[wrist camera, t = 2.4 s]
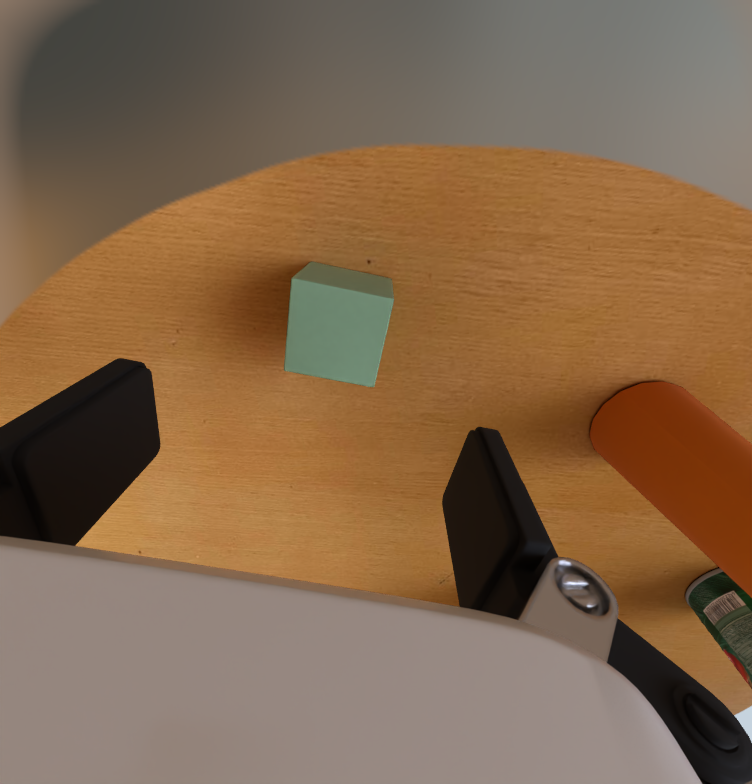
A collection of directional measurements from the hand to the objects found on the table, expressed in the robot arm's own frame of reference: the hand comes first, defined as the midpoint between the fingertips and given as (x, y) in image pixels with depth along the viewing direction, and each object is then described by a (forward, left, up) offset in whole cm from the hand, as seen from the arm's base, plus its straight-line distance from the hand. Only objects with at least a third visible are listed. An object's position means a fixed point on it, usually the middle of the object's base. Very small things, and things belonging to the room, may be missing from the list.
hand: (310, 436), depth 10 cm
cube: (0, 0, -14) cm, 14 cm away
